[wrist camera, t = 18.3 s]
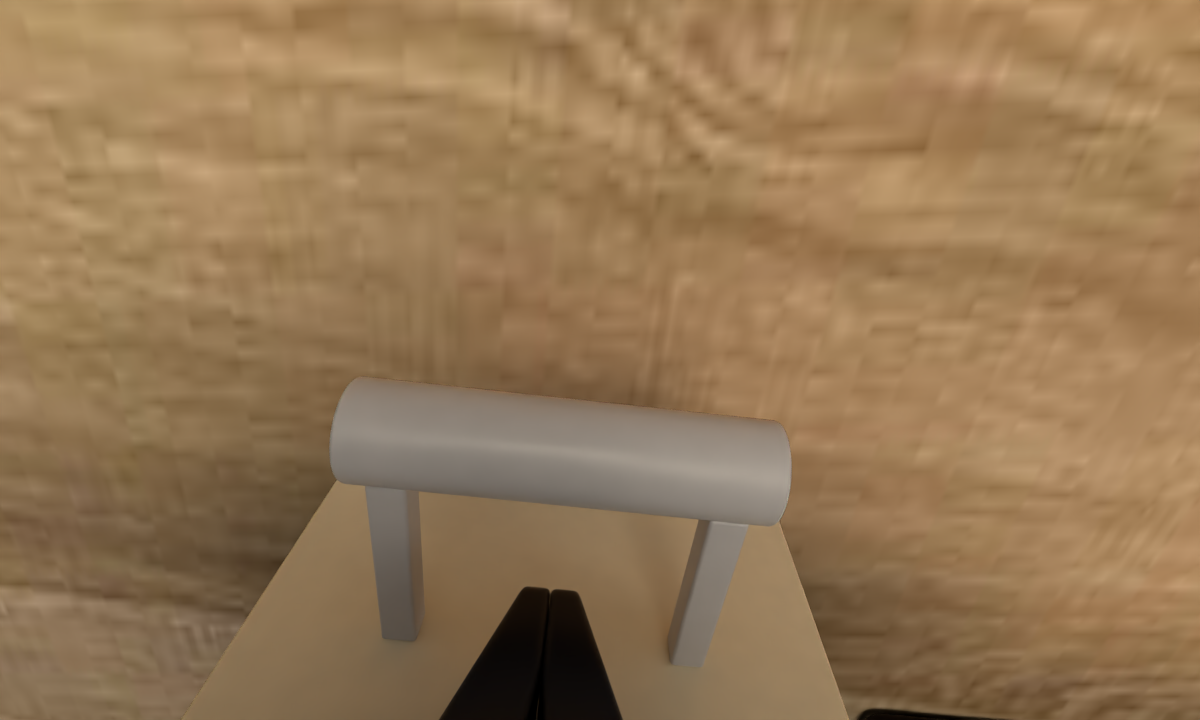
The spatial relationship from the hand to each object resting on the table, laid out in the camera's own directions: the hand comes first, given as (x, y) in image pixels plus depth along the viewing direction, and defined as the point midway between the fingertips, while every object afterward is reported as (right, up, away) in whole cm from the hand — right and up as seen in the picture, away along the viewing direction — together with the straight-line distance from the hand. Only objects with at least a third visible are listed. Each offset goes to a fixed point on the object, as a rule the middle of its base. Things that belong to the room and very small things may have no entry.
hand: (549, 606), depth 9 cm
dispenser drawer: (-1, -3, +7) cm, 7 cm away
